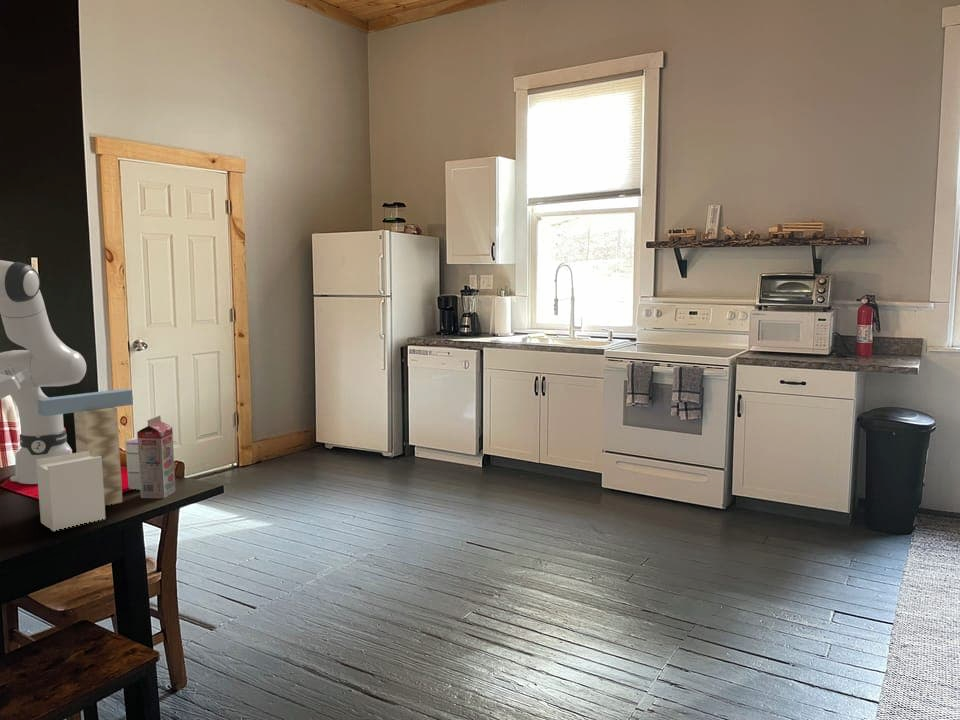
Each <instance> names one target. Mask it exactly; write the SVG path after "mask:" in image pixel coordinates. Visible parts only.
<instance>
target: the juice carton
mask: <svg viewBox="0 0 960 720" xmlns="http://www.w3.org/2000/svg"><path fill="white" fill-rule="evenodd" d="M136 433H137V434H136V435H137V436H136V437H137V438H138V455H139V473H140V490H139V491H140V499H165V497H166V498H167V497H169V496H170V495H172V494H173V493H175V492H176V475H175V473H176V472H175V456H174V434H173V433H174V432H173V426H171V425H170V424H167V423H166V422H163V421H162V418H161V415H158V416H154V417H152V418H150V419H148V420H147V426H144V427H143V428H142V429H139V430H138V431H137V432H136ZM163 491H164V493H163ZM168 495H169V496H168Z"/></svg>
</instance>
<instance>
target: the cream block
mask: <svg viewBox="0 0 960 720" xmlns="http://www.w3.org/2000/svg"><path fill="white" fill-rule="evenodd" d="M36 464H37V478H38V484H37V489H38V500H39V501H38V503H39V512H40V513H39V514H40V515H39V516H40V517H39V519H40V523H41V524H42V525H44V526H45V527H47V528H48V529H49V528H50V529H49V530H51V532H56V530H57V531H60V530H59V529H62V530H65V529H64V528H66V529H69V528H68V527H70V528H73V527H72V526H74V527H77V526H76V525H78V526H81V525H80V524H83V525H85V524H84V523H87V524H90V523H89V522H91V523H94V521H95V522H99V521H103V520H106V506H105V503H104V487H103V471H102V457H101V456H98V457H91V456H90V453H89V451H83V452H77V451H76V452H72V454H66V455H60V456H54V457H48V458H42V459H36ZM102 519H103V520H102ZM98 520H99V521H98Z"/></svg>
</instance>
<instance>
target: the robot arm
mask: <svg viewBox="0 0 960 720" xmlns="http://www.w3.org/2000/svg"><path fill="white" fill-rule="evenodd" d="M40 288H41V278H40V275H39V273H38V272H37V270H36V269H35V268H34V267H33V266H32V265H30V264H27V263H24V262H21V261H20V262H19V261H16V262H14V261H8V260H3V259H2V260H1V259H0V318H1V321H2V325H3V327H4V331H5V334H6V337H7V338H8V339H9V340H10V341H11V342H12V343H14V344H16V345H18V346H20V347H23V348H24V349H17V350H16V349H13V350H9V351H2V352H0V400H2V399H4V398H6V397H8V396H10V397H11V398H12V400H13V401H14V403H15V406H16V408H17V411H18V416H19V417H18V419H19V424H20V434H19V440H18V441H19V446H20V448H19V449H18V450H17V452H16V453H15V458H14V459H15V461H14V462H15V463H14V464H15V465H14V466H15V474H14V475H12V476H10V478H9V480H10V482H16V483H19V484H22V485H23V484H24V485H38V478H37V464H36V459H42V458H48V457H54V456H60V455H66V454H72V453H73V449H72V448H71V446H70V445H69V443H68V442H67V441H68V438H67V436H68V435H67V431H66V430H67V429H66V427H65V426H64V414H59V415H52V416H41V415H39V414H38V400H37V399H41V398H50V397H49V396H47V395H46V394H45V393H44V392H43V390H42V389H41V388H43V387H44V388H45V387H64V386H71V385H75V384H79V383H80V382H81V381H82V380H83V379H84V377H85V375H86V373H87V363H86V360H85V358H84V356H83V355H82V354H81V353H80V352H79V351H76V350H74V349H72V348H70V346H67V345H66V344H65V343H64V342H63V341H62V340H61V339H60V338H59V336H57V335H56V333H55V332H54V330H53V328H52V326H51V325H52V324H51V322H50V320H49V317H48V313H47V309H46V305H45V301H44V298H43V295H42V292H41V290H40Z"/></svg>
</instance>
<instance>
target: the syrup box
mask: <svg viewBox="0 0 960 720" xmlns="http://www.w3.org/2000/svg"><path fill="white" fill-rule="evenodd" d="M124 443H125V455H126V468H127V470H126V471H127V482H128V489H130V490H135V489H136V490H135V491H137V490H139V491H140V473H139V455H138V438H137V436H136V437H133V438H130V439H128V440H125V441H124Z"/></svg>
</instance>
